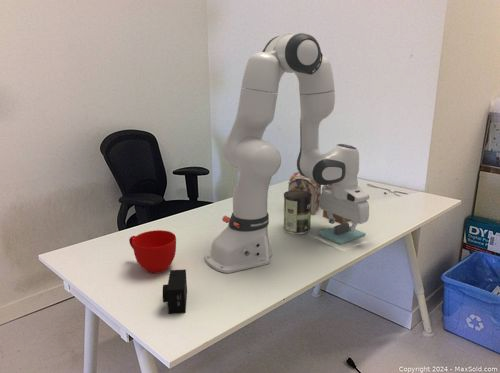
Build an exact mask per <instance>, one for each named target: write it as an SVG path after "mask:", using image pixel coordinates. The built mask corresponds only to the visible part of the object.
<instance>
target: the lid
mask: <svg viewBox="0 0 500 373" xmlns="http://www.w3.org/2000/svg"><path fill="white" fill-rule="evenodd" d="M349 226H350V222H346V223H343V224H340V223H339V224H337V225H334V226H331V227H330V228H329V227H328V228H326V229H322V230H320V231H318V232H317V235H318V236H321V237H323V238H325V239H328V240H329V241H332V242H334V243H337V244H338V245H343V244H346V243H349V242H352V241H354V240H356V239H359V238H362V237H364V236H366V232H364V231H361V230H359V229H357V228H355V232H350V231H349Z"/></svg>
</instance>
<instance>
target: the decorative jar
mask: <svg viewBox="0 0 500 373" xmlns="http://www.w3.org/2000/svg"><path fill="white" fill-rule="evenodd" d="M287 189H288V190H287V191H291V190H303V191H307V192H310V193H311V194H312V197H311V216H315V215H316V214H317V212H318V210H319V209H321V208H320V206H319V202H320V196H321V193H322V185H320V184H317V183H316V182H314V181H312V180H311V179H309V178H307V177H305V176H303V175H301V174H300V173H299V171H298V172H293V173H292V174H291V175H290V178H289V181H288V188H287Z"/></svg>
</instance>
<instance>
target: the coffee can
mask: <svg viewBox="0 0 500 373" xmlns="http://www.w3.org/2000/svg"><path fill="white" fill-rule="evenodd" d="M283 197H284V199H283V229H282V230H283V231H284V232H286V233H287V234H291V235H305V234H308V231H310V230H311V218H312V215H311V197H312V194H311V193H310V192H307V191H303V190H291V191H288V190H287V191H285V192H284V193H283Z"/></svg>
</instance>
